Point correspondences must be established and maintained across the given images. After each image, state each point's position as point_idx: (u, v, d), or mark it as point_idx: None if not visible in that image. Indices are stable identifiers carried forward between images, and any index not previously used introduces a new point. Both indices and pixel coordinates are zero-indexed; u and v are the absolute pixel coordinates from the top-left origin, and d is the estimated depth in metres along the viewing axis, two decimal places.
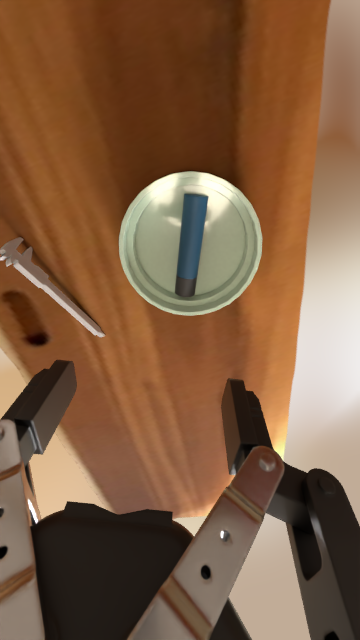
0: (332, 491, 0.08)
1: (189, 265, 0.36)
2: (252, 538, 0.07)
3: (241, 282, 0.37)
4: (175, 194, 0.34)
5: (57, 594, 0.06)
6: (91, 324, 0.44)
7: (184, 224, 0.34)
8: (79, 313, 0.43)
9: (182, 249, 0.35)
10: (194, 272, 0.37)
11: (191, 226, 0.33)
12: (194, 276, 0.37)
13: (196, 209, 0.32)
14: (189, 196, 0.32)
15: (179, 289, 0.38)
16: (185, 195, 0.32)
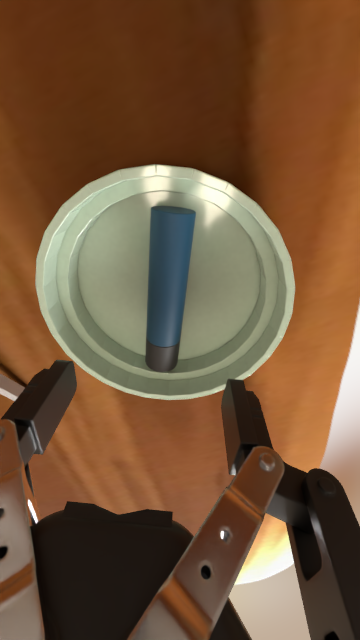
0: (332, 491, 0.08)
1: (164, 327, 0.21)
2: (252, 538, 0.07)
3: (253, 351, 0.22)
4: (138, 207, 0.19)
5: (57, 594, 0.06)
6: None
7: (152, 261, 0.19)
8: (3, 385, 0.28)
9: (152, 302, 0.20)
10: (175, 337, 0.22)
11: (164, 266, 0.18)
12: (174, 342, 0.22)
13: (172, 236, 0.17)
14: (158, 212, 0.17)
15: (150, 360, 0.23)
16: (152, 210, 0.17)
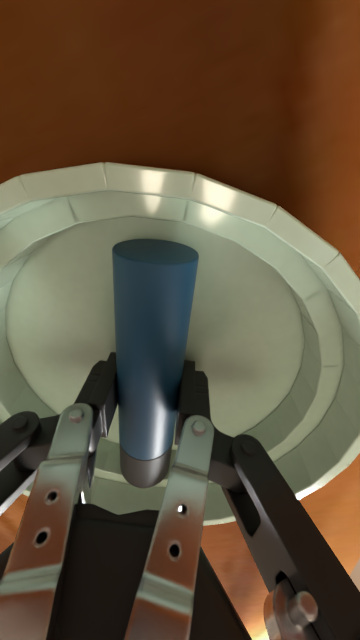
0: (253, 450, 0.09)
1: (144, 437, 0.13)
2: (204, 498, 0.07)
3: (291, 465, 0.14)
4: (97, 239, 0.11)
5: None
6: None
7: (119, 339, 0.10)
8: None
9: (123, 399, 0.12)
10: (163, 445, 0.13)
11: (139, 352, 0.10)
12: (163, 449, 0.14)
13: (153, 305, 0.09)
14: (123, 261, 0.08)
15: (126, 472, 0.15)
16: (113, 253, 0.09)
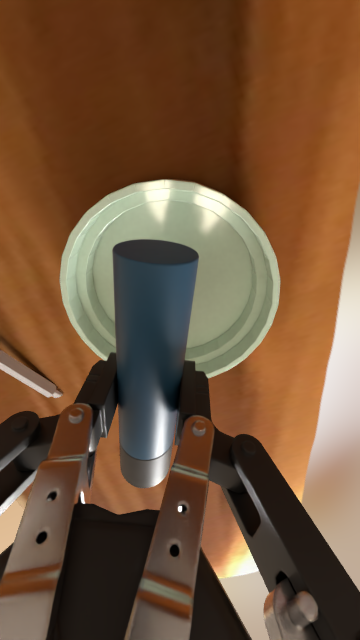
0: (254, 450, 0.09)
1: (144, 436, 0.13)
2: (205, 498, 0.07)
3: (246, 339, 0.26)
4: (147, 213, 0.23)
5: None
6: (41, 384, 0.33)
7: (119, 340, 0.10)
8: (22, 372, 0.31)
9: (123, 399, 0.12)
10: (163, 445, 0.14)
11: (139, 352, 0.10)
12: (163, 449, 0.14)
13: (153, 305, 0.09)
14: (123, 261, 0.08)
15: (126, 472, 0.15)
16: (114, 254, 0.09)
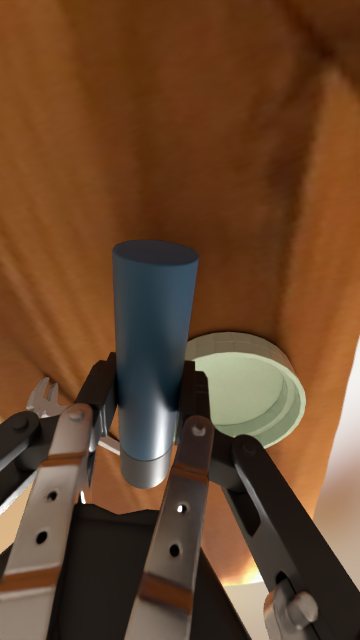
0: (253, 450, 0.09)
1: (144, 437, 0.13)
2: (205, 498, 0.07)
3: (278, 427, 0.36)
4: None
5: None
6: (116, 446, 0.43)
7: (119, 340, 0.10)
8: (104, 440, 0.41)
9: (123, 400, 0.12)
10: (163, 445, 0.14)
11: (139, 352, 0.10)
12: (163, 450, 0.14)
13: (153, 306, 0.09)
14: (123, 262, 0.08)
15: (126, 472, 0.15)
16: (114, 254, 0.09)
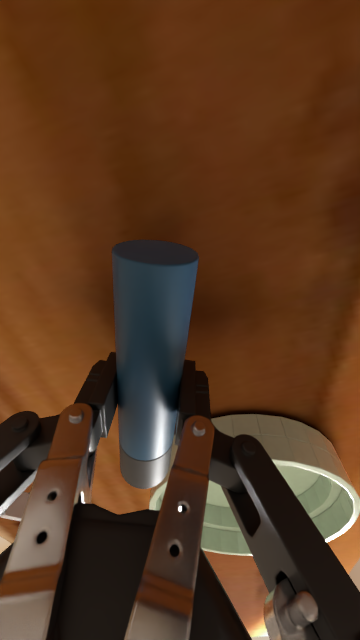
0: (254, 450, 0.09)
1: (144, 437, 0.13)
2: (204, 498, 0.07)
3: None
4: None
5: None
6: None
7: (119, 340, 0.10)
8: None
9: (123, 400, 0.12)
10: (163, 445, 0.13)
11: (139, 353, 0.10)
12: (163, 450, 0.14)
13: (153, 306, 0.09)
14: (123, 262, 0.08)
15: (126, 472, 0.15)
16: (113, 254, 0.09)
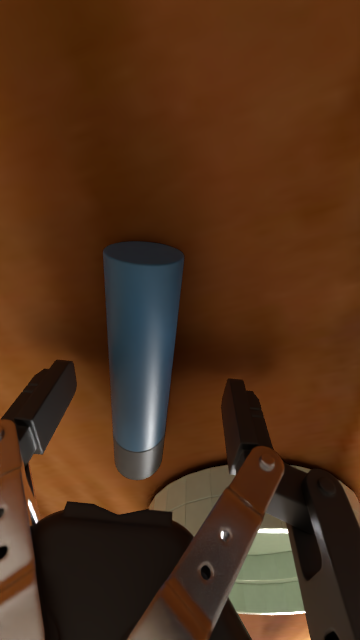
0: (332, 491, 0.08)
1: (126, 427, 0.13)
2: (252, 538, 0.07)
3: None
4: None
5: (57, 594, 0.06)
6: None
7: (107, 330, 0.11)
8: None
9: (111, 386, 0.13)
10: (146, 441, 0.14)
11: (119, 343, 0.11)
12: (147, 446, 0.14)
13: (128, 301, 0.09)
14: (106, 258, 0.09)
15: (115, 458, 0.16)
16: None
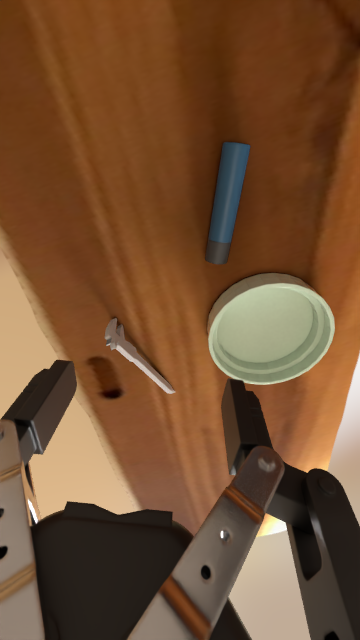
0: (332, 491, 0.08)
1: (222, 226, 0.33)
2: (252, 538, 0.07)
3: (308, 358, 0.43)
4: None
5: (57, 594, 0.06)
6: (166, 384, 0.50)
7: (220, 177, 0.30)
8: (158, 377, 0.48)
9: (217, 207, 0.32)
10: (228, 235, 0.34)
11: (228, 179, 0.30)
12: (228, 240, 0.34)
13: (235, 158, 0.29)
14: (228, 143, 0.29)
15: (210, 254, 0.35)
16: (224, 143, 0.29)
